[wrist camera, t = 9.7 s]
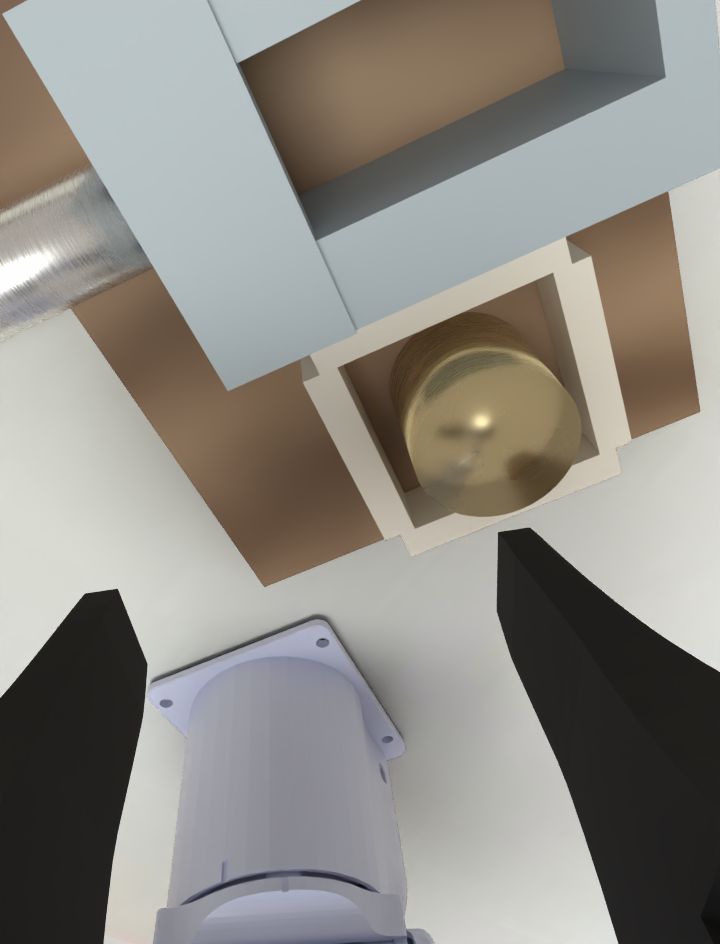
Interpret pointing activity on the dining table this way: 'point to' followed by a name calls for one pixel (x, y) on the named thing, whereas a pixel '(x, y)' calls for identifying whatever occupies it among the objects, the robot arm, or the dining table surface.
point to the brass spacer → (482, 416)
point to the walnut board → (309, 166)
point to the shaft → (62, 250)
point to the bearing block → (372, 185)
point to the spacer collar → (561, 291)
